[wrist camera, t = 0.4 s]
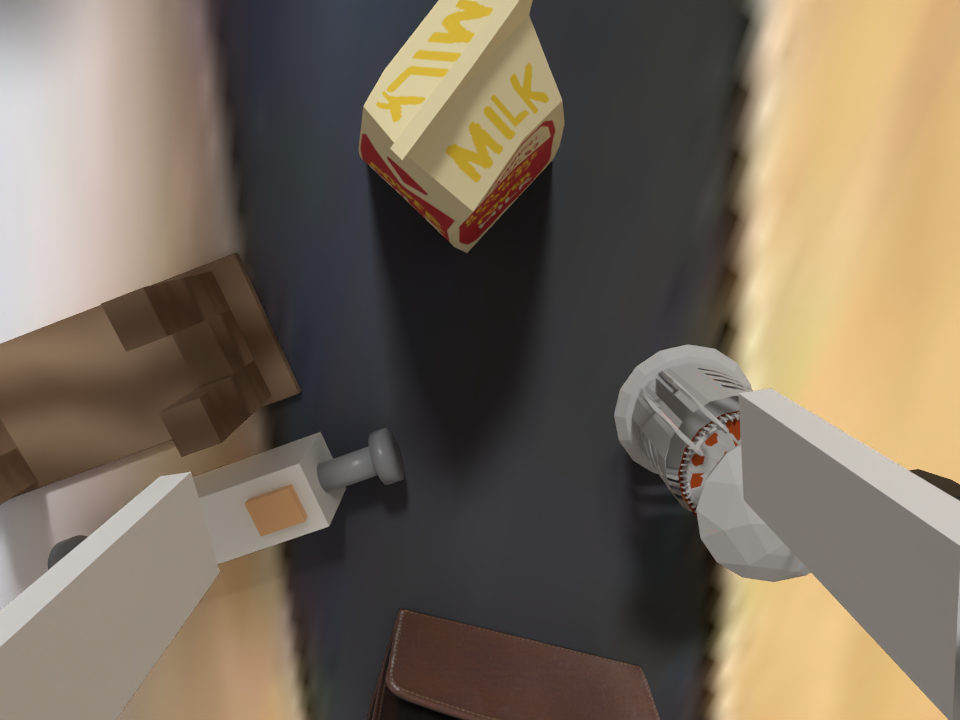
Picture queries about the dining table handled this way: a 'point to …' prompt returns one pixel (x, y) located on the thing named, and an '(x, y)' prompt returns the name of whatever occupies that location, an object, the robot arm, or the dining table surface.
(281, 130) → the dining table surface
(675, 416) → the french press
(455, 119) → the milk carton
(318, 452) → the white block with pegs
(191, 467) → the dining table surface
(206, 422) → the cradle rack
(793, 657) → the dining table surface
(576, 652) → the letter holder
